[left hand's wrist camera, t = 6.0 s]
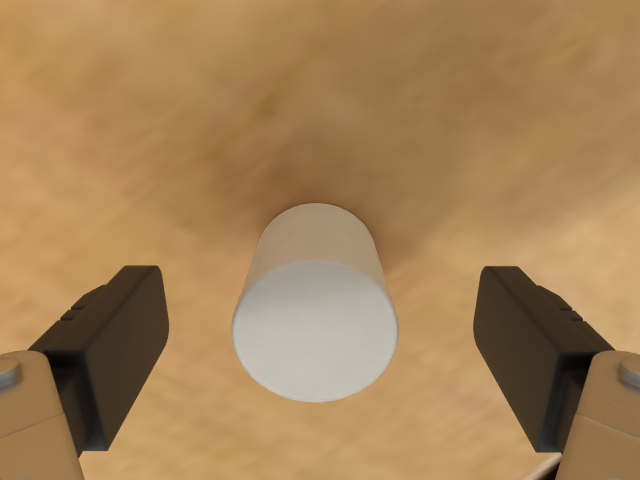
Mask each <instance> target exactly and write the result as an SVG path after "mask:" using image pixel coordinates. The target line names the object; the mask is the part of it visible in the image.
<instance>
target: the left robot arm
mask: <svg viewBox="0 0 640 480" xmlns="http://www.w3.org/2000/svg"><path fill="white" fill-rule="evenodd" d="M473 331H474V338H475V342H476V345H477V347H478V349H479V351H480V353H481V355H482V356H483V358H484V360H485V362H486V363H487V365H488V367H489V369H490V371H491V372H492V374H493V376H494V378H495V380H496V381H497V383H498V385H499V387H500V389H501V390H502V392H503V394H504V396H505V398H506V399H507V401H508V403H509V405H510V407H511V408H512V410H513V412H514V414H515V416H516V417H517V419H518V421H519V423H520V424H521V426H522V428H523V430H524V432H525V433H526V435H527V437H528V439H529V441H530V442H531V444H532V446H533V448H534V450H535V451H536V452H561V454H562V459H561V463H560V466H559V469H558V473H557V476H556V479H555V480H640V355H638V354H635V353H630V352H625V351H616V350H615V349H614V348H613V347H612V346H611V345H610V344H609V343H608V342H607V341H606V340H604V339H603V338H602V337H601V336H600V335H599V334H598V333H597V332H596V331H595V330H594V329H593V328H592V327H591V326H590V325H589V324H588V323H587V322H586V321H583V318H582V317H581V316H580V315H579V314H578V313H577V312H575V311H572V308H571V307H570V306H569V305H568V304H567V303H566V302H565V301H564V300H563V299H562V298H561V297H560V296H558V295H557V294H555V293H553V292H551V291H549V290H547V289H545V288H544V287H542V286H537V285H536V284H535V283H534V282H533V281H532V280H531V279H530V278H529V277H528V276H527V275H526V274H525V273H524V272H523V271H522V270H521V269H520V268H519V267H517V266H486V267H484V268H483V270H482V272H481V276H480V282H479V289H478V295H477V302H476V309H475V315H474V323H473ZM168 333H169V319H168V312H167V306H166V299H165V292H164V285H163V279H162V273H161V270H160V268H159V267H158V266H124V267H123V268H122V269H121V270H120V271H119V272H118V273H117V274H116V275H115V276H114V277H113V278H112V279H111V280H110V281H109V283H108V284H107V285H102V286H100V287H98V288H96V289H94V290H92V291H90V292H89V293H87V294H85V295H83V296H82V297H81V298H80V299H79V300H78V301H77V302H76V303H75V304H74V305H73V306H72V307H71V310H68V311H67V312H66V313H65V314H64V315H63V316H62V317H61V319H60V320H58V321H57V322H56V323H55V324H53V325H52V326H51V327H50V328H49V329H48V330H47V331H46V332H45V333H44V334H43V335H42V336H41V337H40V338H39V339H38V340H37V341H36V342H35V343H34V344H33V345H32V346H31V347H30V348H29V349H28V350H27V351H15V352H10V353H5V354H2V355H0V480H85V479H84V476H83V473H82V469H81V466H80V463H79V457H80V455H81V454H82V452H83V451H108V449H109V447H110V445H111V443H112V442H113V440H114V438H115V436H116V434H117V433H118V431H119V429H120V427H121V425H122V423H123V422H124V420H125V418H126V416H127V414H128V413H129V411H130V409H131V407H132V405H133V403H134V402H135V400H136V398H137V396H138V394H139V393H140V391H141V389H142V387H143V385H144V383H145V382H146V380H147V378H148V376H149V374H150V373H151V371H152V369H153V367H154V365H155V364H156V362H157V360H158V358H159V356H160V354H161V353H162V351H163V349H164V347H165V345H166V342H167V339H168Z"/></svg>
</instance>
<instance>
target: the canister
mask: <svg viewBox="0 0 640 480" xmlns="http://www.w3.org/2000/svg"><path fill="white" fill-rule="evenodd" d="M398 332H399V326H398V319H397V314H396V311H395V308H394V305H393V301H392V298H391V295H390V292H389V289H388V285H387V282H386V279H385V276H384V273H383V269H382V266H381V263H380V260H379V257H378V253H377V250H376V247H375V244H374V241H373V238H372V236H371V234H370V232H369V231H368V229H367V228H366V226H365V225H364V224H363V223H362V222H361V221H360V220H359V219H358V218H357V217H356V216H354V215H353V214H351V213H350V212H348V211H346V210H344V209H342V208H340V207H337V206H334V205H330V204H324V203H308V204H303V205H299V206H295V207H292V208H290V209H288V210H286V211H284V212H283V213H281V214H279V215H278V216H277V217H276V218H274V219H273V220H272V221H271V222H270V224H269V225H268V226H267V227H266V229H265V230H264V232H263V233H262V235H261V237H260V240H259V243H258V245H257V248H256V251H255V254H254V257H253V260H252V263H251V266H250V268H249V271H248V274H247V277H246V280H245V283H244V286H243V288H242V291H241V294H240V297H239V300H238V303H237V306H236V309H235V312H234V315H233V320H232V339H233V344H234V348H235V351H236V354H237V356H238V358H239V360H240V362H241V364H242V365H243V367H244V368H245V370H246V371H247V372H248V373H249V374H250V376H251V377H252V378H253V379H255V380H256V381H257V382H258V383H259V384H261V385H262V386H263V387H265V388H266V389H268V390H270V391H272V392H273V393H275V394H278V395H280V396H283V397H285V398H289V399H293V400H297V401H303V402H327V401H334V400H338V399H342V398H345V397H348V396H351V395H353V394H355V393H357V392H359V391H361V390H363V389H364V388H366V387H367V386H369V385H370V384H371V383H373V382H374V381H375V380H376V379H377V378H378V377H379V376H380V375H381V374H382V373H383V372H384V370H385V369H386V367H387V366H388V365H389V363H390V361H391V359H392V357H393V355H394V352H395V349H396V346H397V341H398Z"/></svg>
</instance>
